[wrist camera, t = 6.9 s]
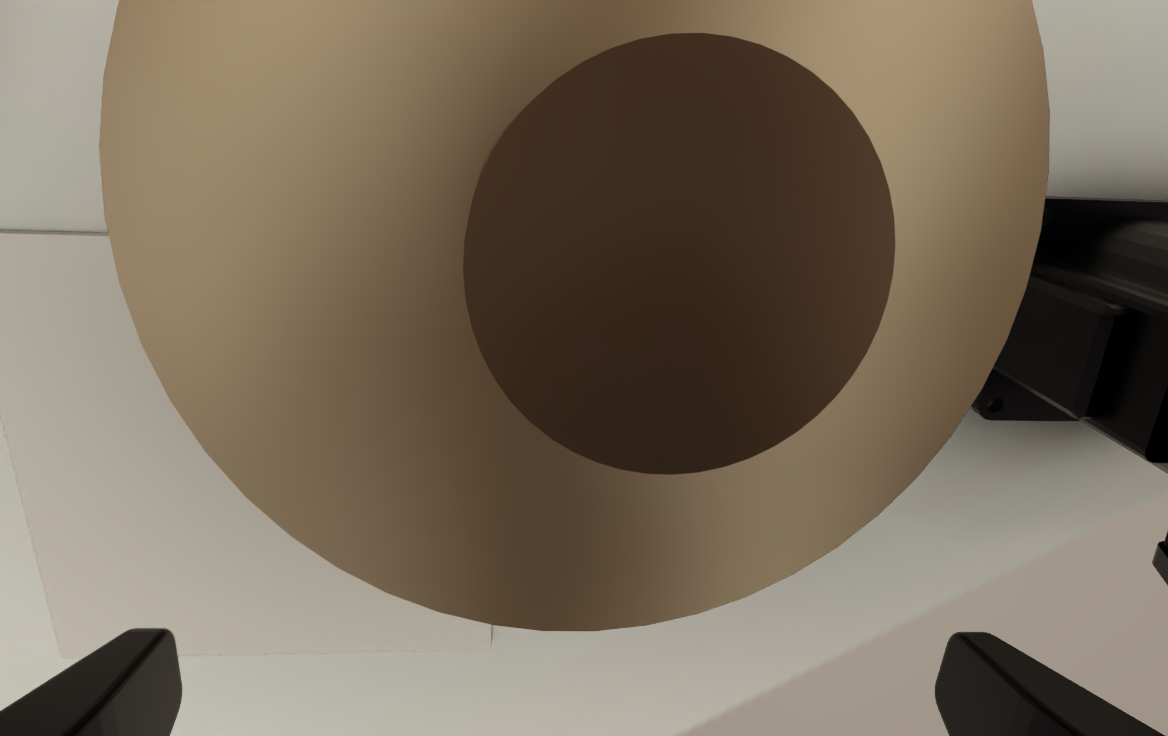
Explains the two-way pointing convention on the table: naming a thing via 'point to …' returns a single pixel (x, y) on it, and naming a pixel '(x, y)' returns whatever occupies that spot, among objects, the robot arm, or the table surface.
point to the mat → (156, 490)
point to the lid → (573, 275)
